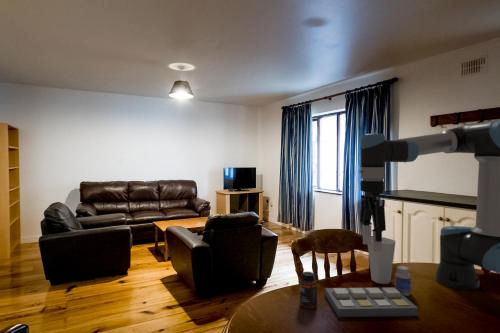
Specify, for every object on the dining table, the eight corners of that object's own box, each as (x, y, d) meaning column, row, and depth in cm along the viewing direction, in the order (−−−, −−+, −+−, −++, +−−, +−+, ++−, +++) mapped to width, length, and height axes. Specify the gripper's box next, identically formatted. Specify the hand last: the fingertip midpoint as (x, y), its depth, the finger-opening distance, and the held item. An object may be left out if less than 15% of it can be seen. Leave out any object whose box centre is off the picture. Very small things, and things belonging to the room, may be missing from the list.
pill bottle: (412, 296, 114) (413, 270, 113) (397, 295, 115) (397, 269, 114) (408, 290, 119) (408, 265, 119) (393, 289, 120) (393, 264, 120)
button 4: (344, 294, 112) (344, 288, 111) (349, 300, 107) (349, 293, 107) (332, 294, 111) (332, 288, 111) (336, 300, 107) (336, 293, 107)
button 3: (361, 294, 112) (361, 287, 112) (366, 299, 107) (366, 293, 107) (349, 294, 112) (349, 288, 111) (353, 300, 107) (353, 293, 107)
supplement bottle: (318, 303, 109) (318, 271, 109) (316, 311, 103) (316, 277, 103) (301, 300, 111) (301, 269, 111) (298, 308, 105) (298, 275, 105)
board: (393, 294, 116) (393, 286, 116) (417, 315, 100) (417, 307, 100) (325, 295, 115) (325, 287, 115) (338, 316, 99) (338, 308, 99)
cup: (371, 274, 136) (372, 235, 136) (396, 279, 130) (397, 239, 130) (364, 282, 127) (364, 241, 127) (391, 288, 121) (391, 245, 121)
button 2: (377, 294, 112) (377, 287, 112) (383, 299, 107) (383, 292, 107) (365, 294, 112) (365, 287, 112) (370, 299, 107) (370, 293, 107)
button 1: (394, 294, 112) (394, 287, 112) (400, 299, 107) (400, 292, 107) (382, 294, 112) (382, 287, 112) (387, 299, 107) (387, 292, 107)
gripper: (350, 178, 114) (350, 239, 114) (374, 182, 93) (373, 256, 94) (370, 178, 114) (370, 239, 114) (398, 182, 93) (398, 256, 94)
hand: (371, 247), depth 104 cm, fingers open, 8 cm apart
